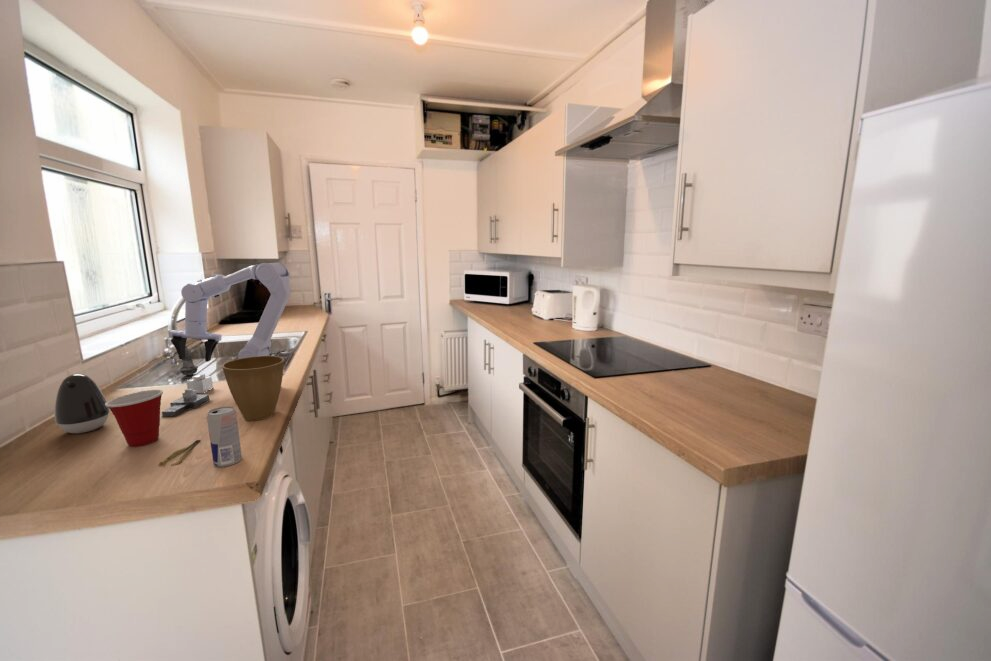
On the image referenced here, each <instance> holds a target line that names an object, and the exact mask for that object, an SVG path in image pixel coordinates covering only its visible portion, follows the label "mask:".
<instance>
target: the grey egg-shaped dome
mask: <svg viewBox="0 0 991 661" xmlns="http://www.w3.org/2000/svg"><path fill="white" fill-rule="evenodd" d="M106 402H108V401H107V399H106V397H105V395H104V394H103V392H102V390H101V388H100V387H99V386H98V385H97V383H96V382H95V381H94V380H93V379H92V378H91V377H89V376H88V375H86V374H81V373H74V374H71V375H68V376H66V377H65V378H64V379H63V380H62V381H61V383H60V385H59V387H58V389H57V393H56V397H55V404H54V421H55V423H56V424H57V425H58V426H59V428H60V429H61V430H62V431H64V432H66V433H69V434H84V433H88V432H91V431H92V432H93V431H95V430H97V429H98V428H101V427H102V426H103V425H104V424H105V423H106V422H107V420H108V418H109V413H110V412H111V410H110V409H109V408H108V407H106V406H105V403H106Z"/></svg>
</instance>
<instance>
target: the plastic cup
mask: <svg viewBox="0 0 991 661" xmlns="http://www.w3.org/2000/svg"><path fill="white" fill-rule="evenodd" d="M163 393H164V392H163V390H162V389H149V390H147V389H146V390H143V391H137V392H132V393H128V394H124V395H121V396H118V397H115V398H112V399H110V400H108V401H107V402H106V403H105V406H106V407H108V408H109V410H110V412H111V413H112V415H113V416H114V418H115V421H116V422H117V425H118V427H119V429H120V431H121V433H122V435H123V437H124V439H125V442H126V444H127V445H128V446H129V447H132V448H134V447H135V448H136V447H142V446H147V445H150V444H153V443H155V442H156V441H157V440H159V437H160V426H161V424H160V423H161V405H162V404H161V403H162V402H161V401H162V396H163Z"/></svg>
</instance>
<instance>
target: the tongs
mask: <svg viewBox="0 0 991 661" xmlns="http://www.w3.org/2000/svg"><path fill="white" fill-rule="evenodd" d="M200 442H201V440H200V439H196V440H195V441H193V442H192V443H191V444H190V445H188V446H186V447H183V448H181V449H178V450H176V451H174V452H173V453H172V454H170V455H169V456H167V457H166V459H164V460H163V461H160V462H159V464H158V467H165V466H166V465H167V464H166V463H167V462H169V461H171V460H172V459H173V458H175V457H176V456H179V455H180V454H182V453H183V455H182V456H180V459H179V461H177V462H175V463H172V464H171V465H170V466H171V467H172V466H177V465H179V464H181V463H182V462H183V460H184V459H185V458H186V457H187V456H188V454H189V453H190V452H191V451H192V449H193V448H194V447H195V446H196V445H197V444H199V443H200Z"/></svg>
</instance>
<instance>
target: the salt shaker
mask: <svg viewBox="0 0 991 661" xmlns="http://www.w3.org/2000/svg"><path fill="white" fill-rule="evenodd" d="M193 359H194V357H193V356H192V350H191V349H190V348H187V346H185V358H184V359H182V367H180V368H178V370H179V371H180V373H181V374H182V377H181V379H182V380H190V379H192V376H194V375H198V374H197V373H198V372H197V371H198V368H199V366H198V365H195V364H194V360H193Z"/></svg>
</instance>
